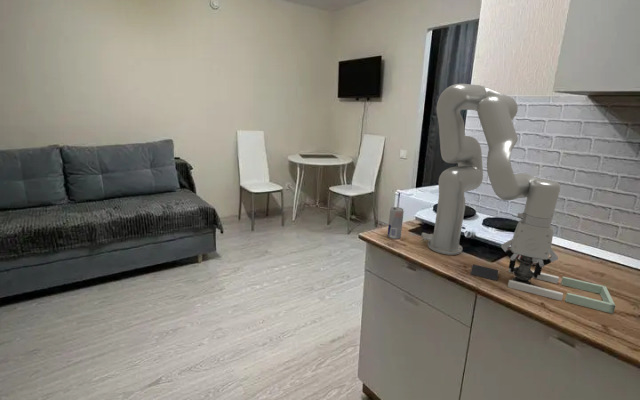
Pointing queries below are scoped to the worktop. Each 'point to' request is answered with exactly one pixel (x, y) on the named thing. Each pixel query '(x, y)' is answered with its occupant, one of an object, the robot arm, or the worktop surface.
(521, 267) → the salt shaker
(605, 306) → the frame
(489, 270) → the dark grey coaster
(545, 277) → the channel
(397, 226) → the energy drink
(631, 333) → the worktop surface
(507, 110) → the robot arm
